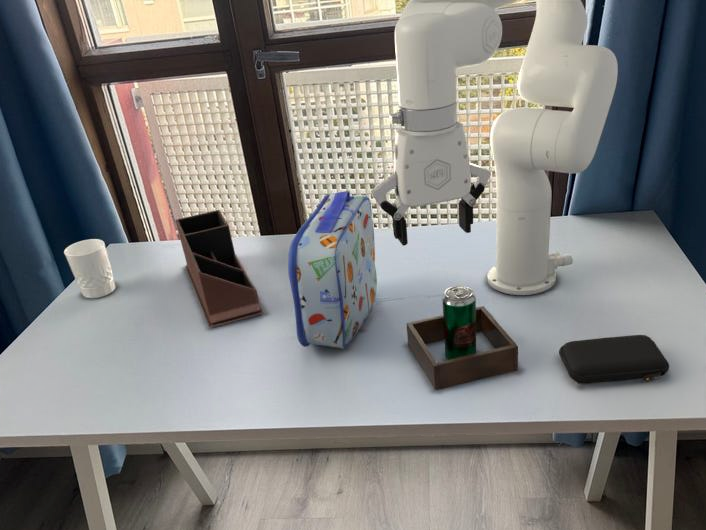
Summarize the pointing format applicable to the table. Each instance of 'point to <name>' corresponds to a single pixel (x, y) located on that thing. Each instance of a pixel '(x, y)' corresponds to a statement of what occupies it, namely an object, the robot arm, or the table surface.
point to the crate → (466, 366)
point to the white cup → (91, 267)
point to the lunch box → (333, 270)
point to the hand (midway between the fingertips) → (433, 235)
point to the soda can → (459, 322)
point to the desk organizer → (216, 269)
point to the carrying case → (613, 359)
